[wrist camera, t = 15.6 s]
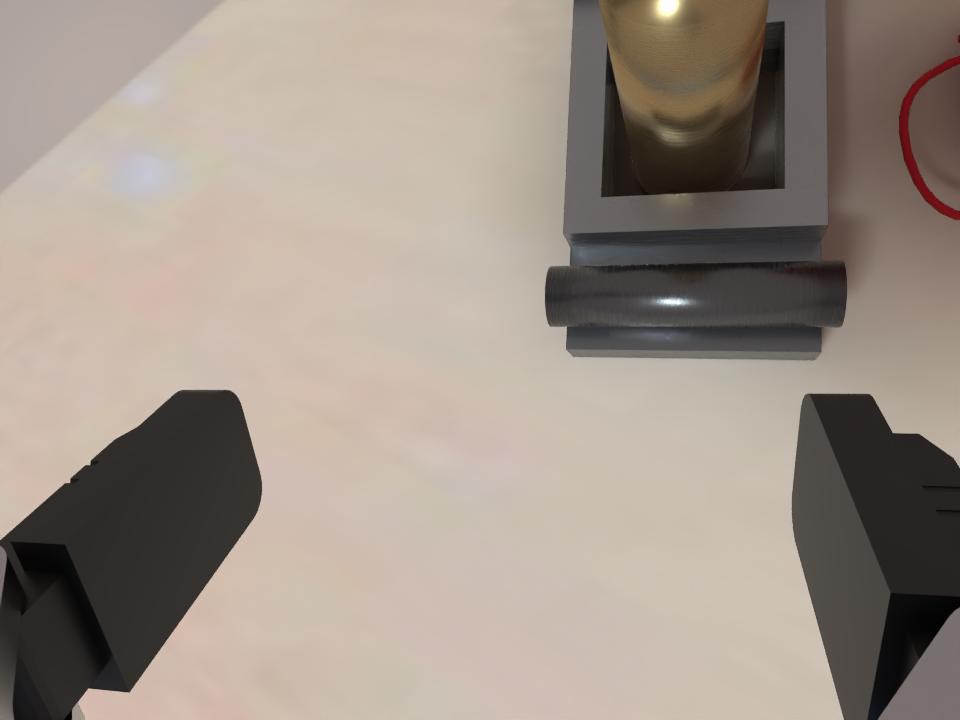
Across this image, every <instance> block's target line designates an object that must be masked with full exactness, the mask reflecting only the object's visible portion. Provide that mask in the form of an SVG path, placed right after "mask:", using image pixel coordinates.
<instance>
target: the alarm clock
mask: <svg viewBox="0 0 960 720" xmlns="http://www.w3.org/2000/svg"><path fill="white" fill-rule="evenodd" d="M957 41H958V42H959V43H960V35H959V36H958V40H957ZM958 64H960V56H957V57H955V58H952V59H950V60H947V61H946V62H944V63H942V64H940V65H939V66H937V67H935V68H933V69H932V70H930V71H928V72H926V73H925V74H924V75H923V76H922V77H920V78H919V79H918V80H917V81H916V82H915V83H914V84H913V85H912V86H911V88H910V89H909V91H908V93H907V94H906V96H905V97H904V99H903V103H902V107H901V111H900V116H899V135H900V141H901V146H902V151H903V156H904V161H905V163H906V166H907V168H908V170H909V173H910V175H911V178H912V180H913V182H914V184H915V186H916V187H917V189H918V190H919V192H920V193H921V195H922V196H923V198H924V199H925V201H926V202H928V203H929V204H930V205H931V206H932V207H933V208H935V209H936V210H937V211H938V212H939V213H941V214H943V215H946V216H948V217H950V218H953V219H955V220H960V211H957V210H954V209H952V208H950V207H948V206H946V205H944V204H943V203H942V202H941V201H939V200H938V199H937V198H936V197H935V196H934V195H933V193H932V192H931V191H930V190H929V189H928V188H927V186H926V184H925V182H924V180H923V178H922V176H921V174H920V172H919V170H918V167H917V165H916V162H915V159H914V156H913V153H912V150H911V145H910V138H909V132H908V118H909V111H910V106H911V104H912V101H913V99H914V96H915V95H916V93H917V92H918V91H919V89H920V88H921V87H922V86H923V85H924V84H926V83H927V82H928V81H929V80H930V79H932V78H934V77H935V76H937V75H939V74H940V73H942V72H944V71H946V70H948V69H950V68H952V67H954V66H956V65H958Z"/></svg>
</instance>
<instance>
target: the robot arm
mask: <svg viewBox="0 0 960 720" xmlns="http://www.w3.org/2000/svg"><path fill="white" fill-rule="evenodd" d="M261 495H262V481H261V475H260V471H259V467H258V464H257V460H256V456H255V453H254V449H253V445H252V442H251V438H250V435H249V431H248V427H247V424H246V420H245V416H244V413H243V409H242V406H241V403H240V401H239V399H238V397H237V396H236V395H235V394H234V393H233V392H231V391H229V390H181V391H178V392H177V393H175V394H174V395H173V396H172V397H171V398H170V399H169V400H167V401H166V402H165V403H164V404H163V405H162V406H161V407H160V408H158V409H157V410H156V411H155V412H154V413H153V414H152V415H151V416H150V417H148V418H147V419H146V420H145V421H144V422H143V423H142V424H141V425H139V426H138V427H137V428H135V429H133V430H131V431H129V432H128V433H126V434H124V435H122V436H120V437H119V438H117V439H115V440H114V441H113V442H112V443H110V444H109V445H108V446H107V447H106V448H105V449H104V450H102V451H101V452H100V453H99V454H98V455H97V456H96V457H94V458H93V459H92V460H91V464H90V465H85V466H84V467H83V468H82V469H81V470H80V471H79V472H77V473H76V474H75V475H74V476H73V477H72V478H71V482H70V483H65V484H64V485H63V486H62V487H60V488H59V489H58V490H57V491H56V492H55V493H54V494H52V495H51V496H50V497H49V498H48V499H47V500H46V501H45V502H43V503H42V504H41V505H40V506H39V507H38V508H37V509H35V510H34V511H33V512H32V513H31V514H30V515H29V516H27V517H26V518H25V519H24V520H23V521H22V522H21V523H20V524H18V525H17V526H16V527H15V528H14V529H13V530H12V531H10V532H9V533H8V534H7V535H6V536H5V537H4V538H2V539H1V540H0V720H85V716H84V714H83V712H82V710H81V708H80V706H79V704H78V701H79V700H80V698H81V697H82V696H83V695H84V693H85V692H86V691H87V689H88V688H91V689H100V690H110V691H120V692H130V691H131V689H132V688H133V687H134V685H135V684H136V682H137V681H138V680H139V678H140V677H141V675H142V674H143V673H144V671H145V670H146V668H147V667H148V666H149V664H150V663H151V661H152V660H153V659H154V657H155V656H156V654H157V653H158V652H159V650H160V649H161V647H162V646H163V645H164V643H165V642H166V640H167V639H168V638H169V636H170V635H171V633H172V632H173V631H174V629H175V628H176V626H177V625H178V624H179V622H180V621H181V619H182V618H183V617H184V615H185V614H186V612H187V611H188V610H189V608H190V607H191V605H192V604H193V603H194V601H195V600H196V598H197V597H198V596H199V594H200V593H201V591H202V590H203V589H204V587H205V586H206V584H207V583H208V582H209V580H210V579H211V577H212V576H213V575H214V573H215V572H216V570H217V569H218V568H219V566H220V565H221V563H222V562H223V561H224V559H225V558H226V556H227V555H228V554H229V552H230V551H231V549H232V548H233V547H234V545H235V544H236V542H237V541H238V540H239V538H240V537H241V535H242V534H243V533H244V531H245V530H246V528H247V527H248V526H249V524H250V523H251V521H252V520H253V519H254V517H255V515H256V513H257V511H258V508H259V505H260V501H261ZM792 522H793V531H794V537H795V542H796V546H797V550H798V553H799V557H800V561H801V564H802V568H803V572H804V575H805V579H806V582H807V586H808V590H809V593H810V597H811V601H812V604H813V608H814V612H815V615H816V619H817V623H818V626H819V630H820V633H821V637H822V641H823V644H824V648H825V652H826V655H827V659H828V663H829V666H830V670H831V674H832V677H833V681H834V684H835V688H836V692H837V695H838V699H839V703H840V706H841V710H842V714H843V717H844V720H960V468H959V466H958V465H957V463H956V461H955V460H954V458H952V457H951V456H949V455H948V454H947V453H945V452H944V451H942V450H941V449H940V448H938V447H937V446H935V445H934V444H932V443H931V442H930V441H928V440H927V439H925V438H924V437H923V436H921V435H920V434H898V433H892V431H891V429H890V427H889V425H888V424H887V422H886V420H885V418H884V416H883V414H882V413H881V411H880V409H879V407H878V405H877V404H876V402H875V400H874V398H873V397H872V396H871V395H870V394H806V395H805V396H804V398H803V401H802V406H801V413H800V422H799V432H798V442H797V452H796V461H795V471H794V481H793V491H792Z"/></svg>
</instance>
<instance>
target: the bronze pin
mask: <svg viewBox="0 0 960 720" xmlns="http://www.w3.org/2000/svg"><path fill="white" fill-rule="evenodd" d="M598 1H599V5H600V10H601V15H602V19H603V24H604V29H605V34H606V38H607V43H608V48H609V53H610V57H611V62H612V67H613V72H614V76H615V81H616V86H617V91H618V95H619V100H620V105H621V110H622V114H623V119H624V124H625V129H626V133H627V138H628V143H629V148H630V152H631V157H632V162H633V166H634V171H635V174H636V177H637V179H638V181H639V183H640V184H641V186H642V187H643V188H644V189H645V191H646V192H647V193H648V194H650V195H661V194H682V193H704V192H725V191H729V190H730V189H731V188H732V187H733V186H734V185H735V184H736V182H737V181H738V180H739V178H740V177H741V175H742V173H743V171H744V168H745V166H746V162H747V158H748V151H749V144H750V136H751V129H752V122H753V115H754V108H755V100H756V93H757V86H758V79H759V72H760V64H761V57H762V50H763V43H764V36H765V28H766V21H767V14H768V7H769V0H598Z"/></svg>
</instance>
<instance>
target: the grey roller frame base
mask: <svg viewBox="0 0 960 720" xmlns="http://www.w3.org/2000/svg"><path fill="white" fill-rule="evenodd" d="M769 71H776V189H768V190H746V191H725V192H704V193H682V194H661V195H639V196H618V197H613V170H614V141H615V113H616V81H615V76H614V72H613V67H612V62H611V57H610V53H609V48H608V43H607V38H606V34H605V29H604V24H603V19H602V15H601V10H600V5H599V1H598V0H574V8H573V30H572V52H571V73H570V95H569V117H568V139H567V160H566V182H565V204H564V226H563V234H564V236H565V238H566V240H567V242H568V244H569V246H570V247H571V251H570V266H551V267H549V269H548V272H547V277H546V286H545V307H546V316H547V321H548V324H549V326H550V327H567V341H566V350H567V351H568V352H569V353H570V354H571V355H572V356H573V357H626V358H698V359H770V360H815V359H816V358H817V357H818V356H819V355H820V353H821V352H822V351H821V327H841V326H842V324H843V321H844V316H845V310H846V299H847V277H846V268H845V264H844V262H843V260H834V261H821V239H822V237H823V234H824V232H825V230H826V228H827V226H828V166H827V70H826V0H769V7H768V14H767V21H766V28H765V36H764V43H763V50H762V57H761V64H760V72H769Z"/></svg>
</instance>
